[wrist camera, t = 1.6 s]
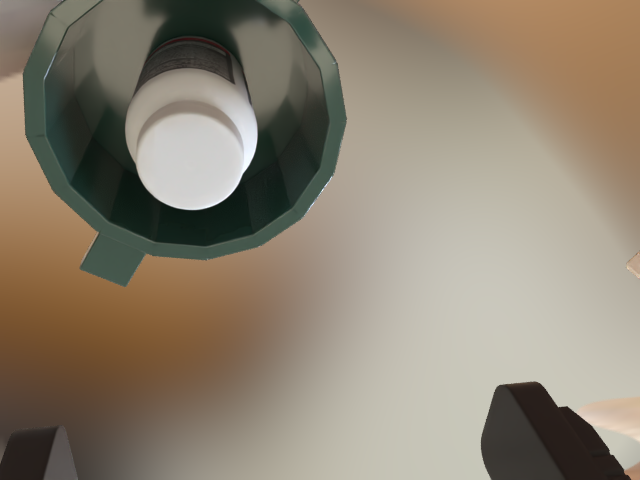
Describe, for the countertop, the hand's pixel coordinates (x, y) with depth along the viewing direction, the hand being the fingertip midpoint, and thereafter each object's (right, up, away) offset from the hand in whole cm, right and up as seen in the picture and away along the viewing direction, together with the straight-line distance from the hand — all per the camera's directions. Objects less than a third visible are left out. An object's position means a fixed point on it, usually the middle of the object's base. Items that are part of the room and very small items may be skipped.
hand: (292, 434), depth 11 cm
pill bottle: (-6, +12, +19) cm, 23 cm away
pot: (-6, +12, +19) cm, 23 cm away
